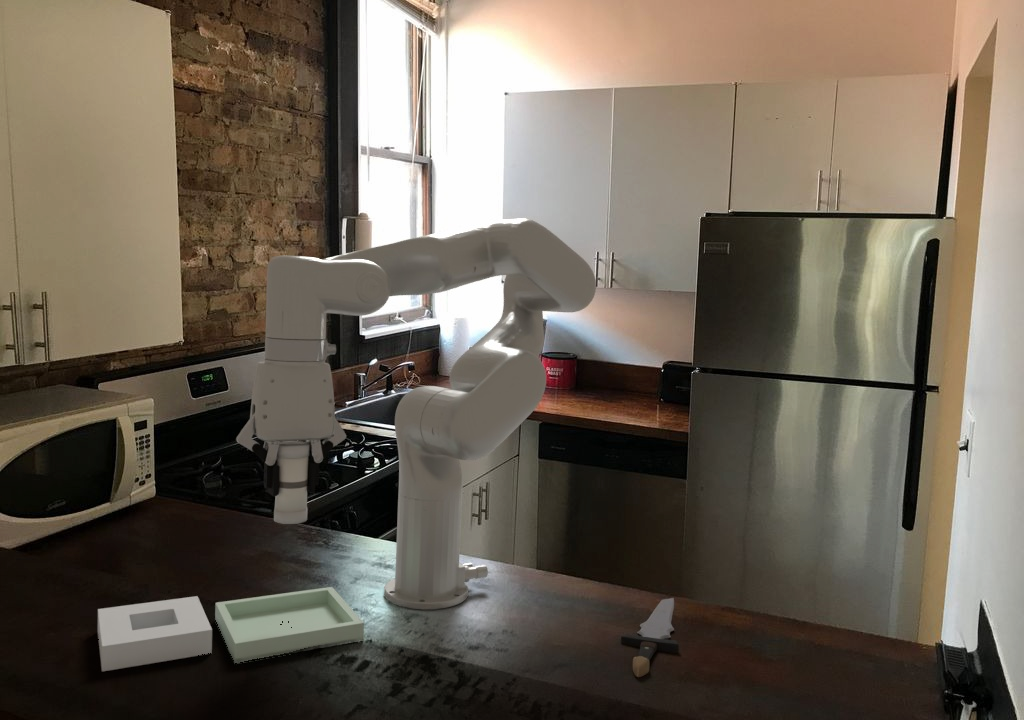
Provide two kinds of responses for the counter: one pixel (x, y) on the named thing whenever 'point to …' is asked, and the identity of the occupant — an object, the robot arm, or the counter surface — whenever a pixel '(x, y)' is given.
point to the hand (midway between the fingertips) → (291, 490)
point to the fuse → (292, 482)
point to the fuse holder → (152, 632)
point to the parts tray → (286, 623)
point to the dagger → (653, 637)
